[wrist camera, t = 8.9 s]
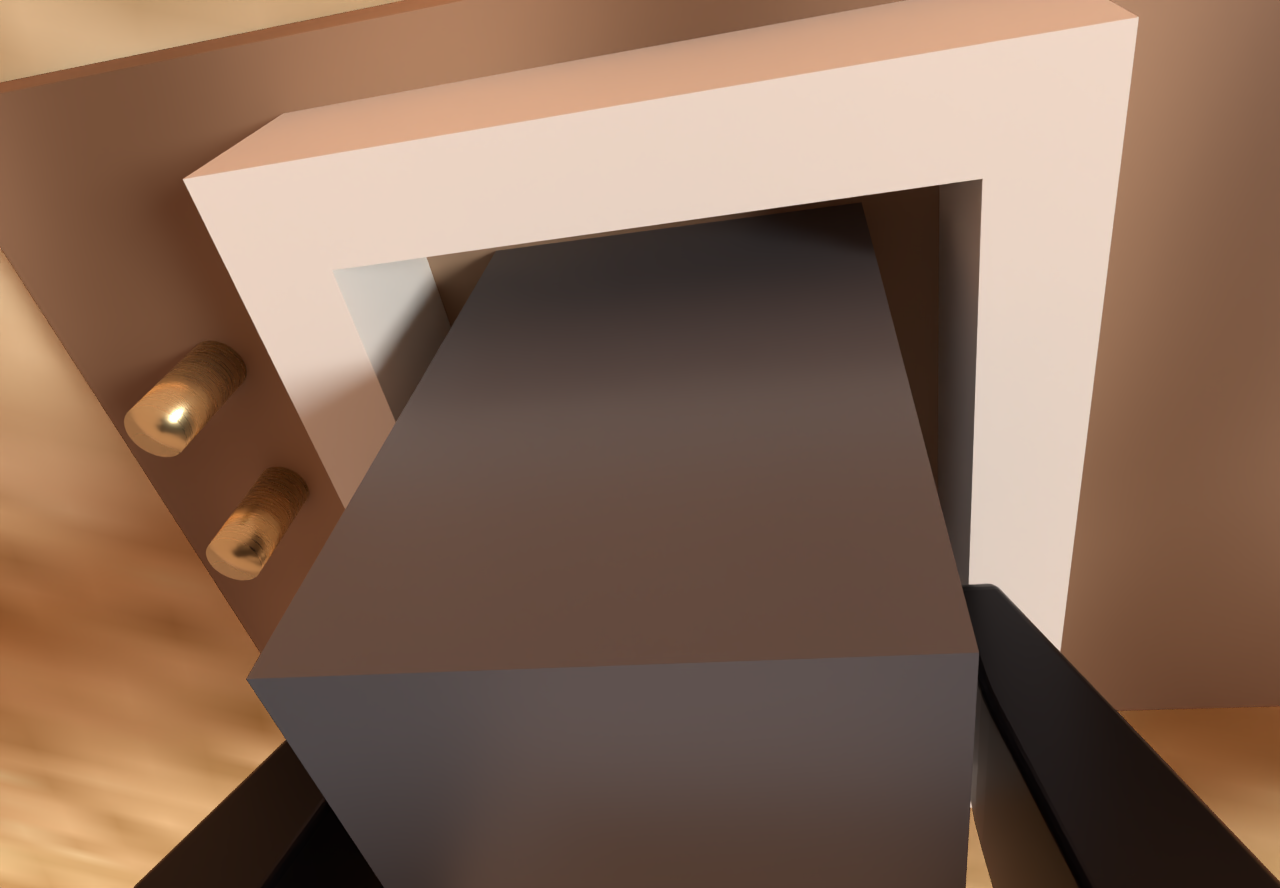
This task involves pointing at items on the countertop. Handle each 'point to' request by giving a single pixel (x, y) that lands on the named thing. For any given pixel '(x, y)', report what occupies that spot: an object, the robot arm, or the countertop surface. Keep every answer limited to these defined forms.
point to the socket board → (701, 193)
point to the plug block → (647, 585)
